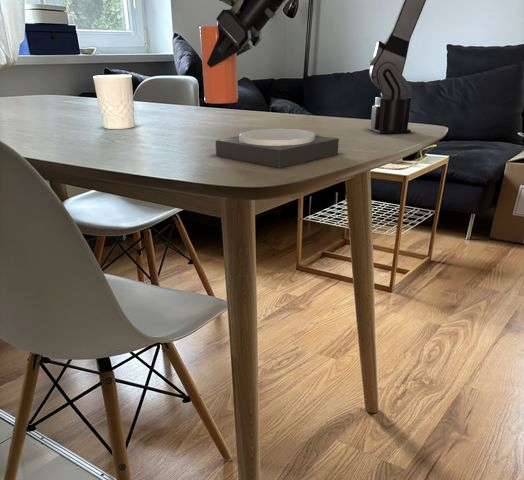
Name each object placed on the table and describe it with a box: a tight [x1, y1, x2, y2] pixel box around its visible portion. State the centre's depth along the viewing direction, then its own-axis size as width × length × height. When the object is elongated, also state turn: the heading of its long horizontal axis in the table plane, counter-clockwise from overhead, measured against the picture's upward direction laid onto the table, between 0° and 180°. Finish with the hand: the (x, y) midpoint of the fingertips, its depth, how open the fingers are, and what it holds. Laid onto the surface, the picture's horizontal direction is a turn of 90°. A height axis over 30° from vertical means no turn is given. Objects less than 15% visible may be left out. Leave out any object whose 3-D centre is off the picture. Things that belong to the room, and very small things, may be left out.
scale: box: [215, 128, 340, 169], centre depth 82 cm, size 14×14×3 cm
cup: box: [199, 25, 239, 104], centre depth 101 cm, size 7×7×13 cm
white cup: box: [92, 74, 136, 130], centre depth 110 cm, size 8×8×10 cm
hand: (212, 64), depth 101 cm, fingers closed on cup, 7 cm apart
